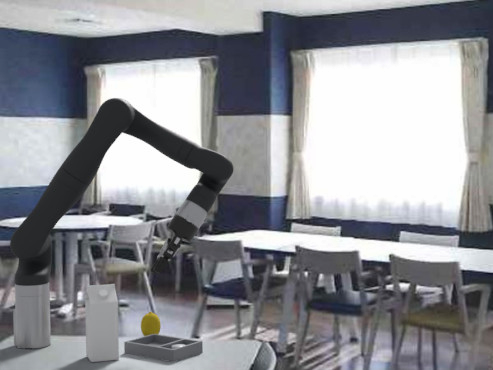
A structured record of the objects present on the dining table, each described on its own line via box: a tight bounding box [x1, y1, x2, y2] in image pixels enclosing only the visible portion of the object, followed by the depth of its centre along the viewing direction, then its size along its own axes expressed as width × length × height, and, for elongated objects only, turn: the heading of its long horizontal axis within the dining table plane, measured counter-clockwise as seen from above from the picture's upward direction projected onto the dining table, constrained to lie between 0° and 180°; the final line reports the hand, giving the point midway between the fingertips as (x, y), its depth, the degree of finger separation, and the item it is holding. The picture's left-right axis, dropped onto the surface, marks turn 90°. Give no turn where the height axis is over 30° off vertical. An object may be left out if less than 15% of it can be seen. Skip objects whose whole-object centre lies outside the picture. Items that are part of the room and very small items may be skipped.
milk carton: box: [84, 283, 120, 363], centre depth 213 cm, size 7×7×19 cm
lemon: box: [140, 311, 162, 337], centre depth 234 cm, size 6×6×8 cm
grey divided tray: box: [123, 333, 204, 363], centre depth 219 cm, size 17×12×3 cm
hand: (154, 272), depth 219 cm, fingers open, 8 cm apart
